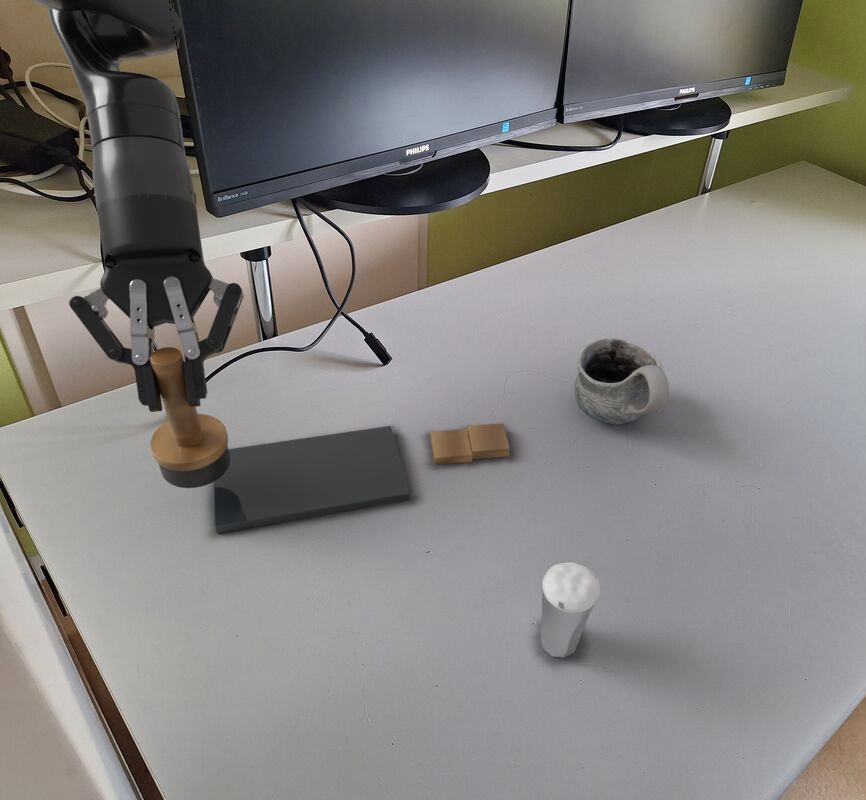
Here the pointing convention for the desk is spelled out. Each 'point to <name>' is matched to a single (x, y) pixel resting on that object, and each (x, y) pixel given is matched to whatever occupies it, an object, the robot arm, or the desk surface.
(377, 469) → the tile
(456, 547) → the desk surface
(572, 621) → the milkshake
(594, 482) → the desk surface
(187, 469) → the brush
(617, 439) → the desk surface
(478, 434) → the chip
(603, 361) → the mug
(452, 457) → the chip
